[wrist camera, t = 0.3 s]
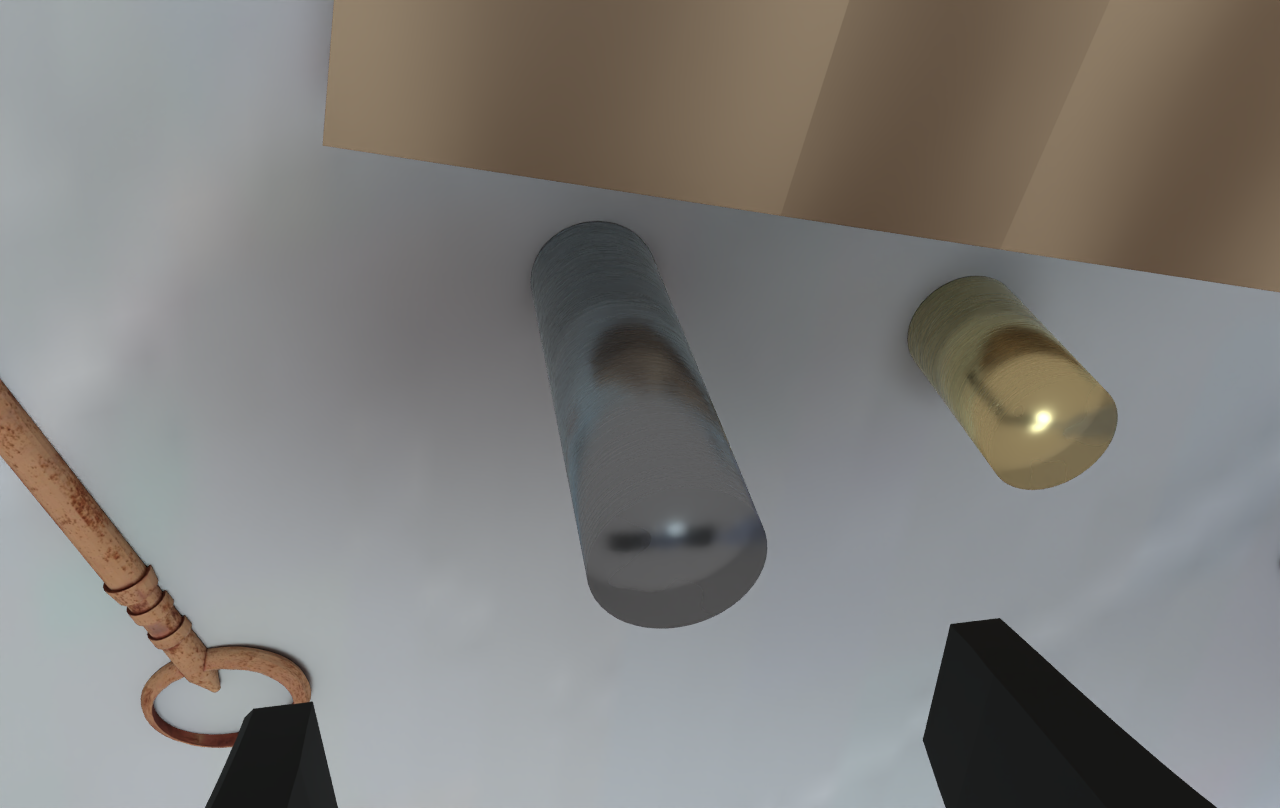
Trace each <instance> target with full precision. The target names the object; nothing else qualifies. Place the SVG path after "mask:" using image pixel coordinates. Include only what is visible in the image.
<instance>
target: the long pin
mask: <svg viewBox="0 0 1280 808" xmlns="http://www.w3.org/2000/svg"><path fill="white" fill-rule="evenodd" d="M531 289H532V295H533V300H534V305H535V311H536V316H537V321H538V326H539V331H540V337H541V342H542V347H543V352H544V357H545V362H546V368H547V373H548V378H549V383H550V388H551V394H552V399H553V404H554V409H555V414H556V419H557V425H558V430H559V435H560V440H561V445H562V451H563V456H564V461H565V466H566V471H567V477H568V482H569V487H570V492H571V497H572V502H573V508H574V513H575V518H576V523H577V528H578V534H579V539H580V544H581V549H582V554H583V559H584V565H585V570H586V575H587V580H588V585H589V587H590V590H591V593H592V594H593V596H594V598H595V600H596V601H597V602H598V603H599V604H600V606H601V607H602V608H603V609H605V610H606V611H607V612H608V613H609V614H611V615H613V616H614V617H616V618H618V619H620V620H622V621H624V622H627V623H630V624H633V625H636V626H641V627H647V628H675V627H682V626H687V625H691V624H695V623H698V622H701V621H704V620H706V619H709V618H712V617H714V616H715V615H717V614H719V613H721V612H723V611H725V610H726V609H728V608H729V607H731V606H732V605H734V604H735V603H736V602H737V601H739V600H740V599H741V598H742V597H743V596H744V595H745V594H746V593H747V592H748V591H749V590H750V588H751V587H752V586H753V585H754V583H755V582H756V580H757V579H758V577H759V575H760V573H761V571H762V569H763V567H764V563H765V560H766V554H767V539H766V534H765V531H764V528H763V526H762V523H761V521H760V519H759V516H758V514H757V511H756V509H755V506H754V504H753V501H752V499H751V497H750V494H749V492H748V489H747V487H746V484H745V482H744V479H743V477H742V475H741V472H740V470H739V467H738V465H737V462H736V460H735V457H734V455H733V453H732V450H731V448H730V445H729V443H728V440H727V438H726V436H725V433H724V431H723V428H722V426H721V423H720V421H719V418H718V416H717V414H716V411H715V409H714V406H713V404H712V401H711V399H710V396H709V394H708V392H707V389H706V387H705V384H704V382H703V379H702V377H701V374H700V372H699V370H698V367H697V365H696V362H695V360H694V357H693V355H692V352H691V350H690V348H689V345H688V343H687V340H686V338H685V335H684V333H683V330H682V328H681V326H680V323H679V321H678V318H677V316H676V313H675V311H674V308H673V306H672V304H671V301H670V299H669V296H668V294H667V291H666V289H665V287H664V284H663V282H662V279H661V277H660V274H659V272H658V269H657V267H656V265H655V262H654V260H653V257H652V255H651V252H650V251H649V249H648V247H647V246H646V244H645V243H644V242H643V241H642V240H641V239H640V238H639V237H638V236H637V235H636V234H635V233H633V232H632V231H630V230H628V229H626V228H624V227H622V226H619V225H617V224H613V223H608V222H587V223H581V224H578V225H574V226H572V227H569V228H567V229H565V230H563V231H561V232H560V233H558V234H557V235H555V236H554V237H553V238H552V239H551V240H550V241H548V242H547V243H546V245H545V246H544V247H543V248H542V250H541V251H540V253H539V254H538V256H537V258H536V260H535V263H534V265H533V269H532V274H531Z"/></svg>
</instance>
